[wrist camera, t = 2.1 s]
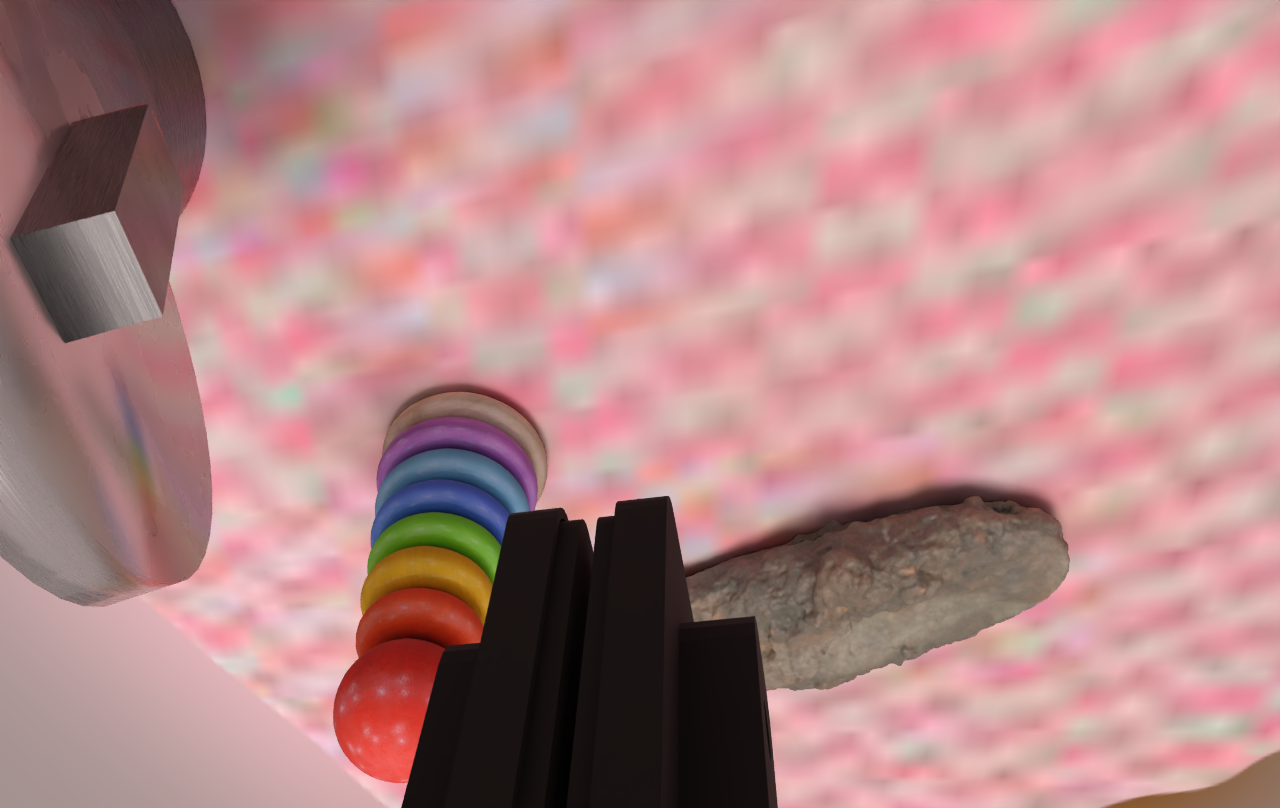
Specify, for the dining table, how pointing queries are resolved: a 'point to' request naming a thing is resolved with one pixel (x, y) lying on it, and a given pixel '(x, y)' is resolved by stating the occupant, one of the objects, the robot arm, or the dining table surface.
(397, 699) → the stacking toy
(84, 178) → the cooker lid
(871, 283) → the dining table surface
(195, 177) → the cooker pot
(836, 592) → the elongated rock
